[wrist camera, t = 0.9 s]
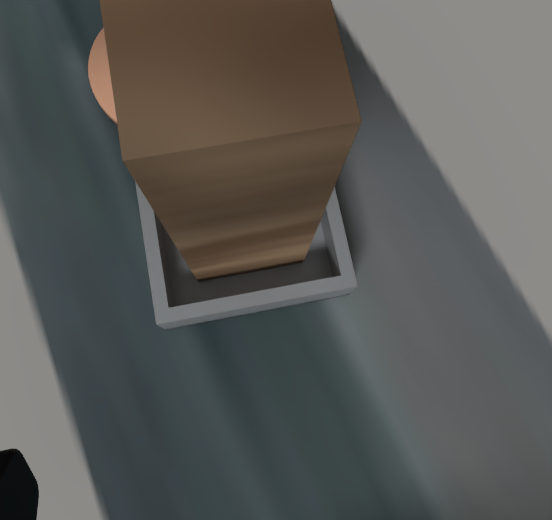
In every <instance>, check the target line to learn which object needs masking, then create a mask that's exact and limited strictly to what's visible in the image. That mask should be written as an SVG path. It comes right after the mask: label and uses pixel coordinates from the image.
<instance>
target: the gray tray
mask: <svg viewBox="0 0 552 520" xmlns="http://www.w3.org/2000/svg"><path fill="white" fill-rule="evenodd" d="M135 183H136V181H135ZM136 190H137V196H138V203H139V210H140V217H141V224H142V230H143V237H144V244H145V251H146V258H147V264H148V271H149V278H150V285H151V291H152V298H153V305H154V312H155V319H156V325H158V326H160V327H162V328H164V329H172V328H177V327H182V326H187V325H192V324H198V323H203V322H208V321H213V320H219V319H224V318H229V317H234V316H239V315H245V314H250V313H255V312H260V311H266V310H271V309H276V308H281V307H287V306H292V305H297V304H302V303H307V302H313V301H318V300H323V299H328V298H334V297H339V296H344V295H348V294H350V293H351V292H352V291H353V290H354V289H355V288H356V287H358V285H357V281H356V277H355V272H354V268H353V264H352V259H351V255H350V251H349V246H348V242H347V238H346V233H345V229H344V225H343V221H342V216H341V212H340V208H339V203H338V199H337V195H336V190H335V187H334V189H333V191H332V194H331V196H330V199H329V201H328V204H327V206H326V208H325V211H324V213H323V216H322V218H321V221H320V223H319V225H318V228H317V230H316V233H315V235H314V237H313V240H312V242H311V245H310V247H309V250H308V252H307V254H306V257H305V259H304V262H303V263H299V264H293V265H288V266H282V267H277V268H272V269H266V270H261V271H255V272H250V273H245V274H239V275H234V276H228V277H223V278H217V279H212V280H207V281H201V282H198V281H197V279H196V278H195V276H194V274H193V273H192V271H191V270H190V268H189V266H188V265H187V263H186V262H185V260H184V258H183V257H182V255H181V253H180V252H179V250H178V249H177V247H176V245H175V244H174V242H173V241H172V239H171V237H170V236H169V234H168V233H167V231H166V229H165V228H164V226H163V225H162V223H161V221H160V220H159V218H158V217H157V215H156V213H155V212H154V210H153V209H152V207H151V205H150V204H149V202H148V201H147V199H146V197H145V196H144V194H143V193H142V191H141V189H140V188H139V186H138V185H137V183H136Z"/></svg>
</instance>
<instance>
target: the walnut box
mask: <svg viewBox="0 0 552 520" xmlns="http://www.w3.org/2000/svg"><path fill="white" fill-rule="evenodd" d="M100 6H101V13H102V20H103V27H104V34H105V41H106V48H107V55H108V62H109V69H110V76H111V83H112V90H113V97H114V104H115V111H116V118H117V125H118V132H119V139H120V146H121V153H122V160H123V162H124V164H125V165H126V167H127V169H128V170H129V172H130V173H131V175H132V177H133V178H134V180H135V181H136V183H137V185H138V186H139V188H140V189H141V191H142V193H143V194H144V196H145V197H146V199H147V201H148V202H149V204H150V205H151V207H152V209H153V210H154V212H155V213H156V215H157V217H158V218H159V220H160V221H161V223H162V225H163V226H164V228H165V229H166V231H167V233H168V234H169V236H170V237H171V239H172V241H173V242H174V244H175V245H176V247H177V249H178V250H179V252H180V253H181V255H182V257H183V258H184V260H185V262H186V263H187V265H188V266H189V268H190V270H191V271H192V273H193V274H194V276H195V278H196V279H197V281H198V282H201V281H207V280H212V279H217V278H223V277H228V276H234V275H239V274H245V273H250V272H255V271H261V270H266V269H272V268H277V267H282V266H288V265H293V264H299V263H303V262H304V259H305V257H306V254H307V252H308V250H309V247H310V245H311V242H312V240H313V237H314V235H315V233H316V230H317V228H318V225H319V223H320V221H321V218H322V216H323V213H324V211H325V208H326V206H327V204H328V201H329V199H330V196H331V194H332V191H333V189H334V187H335V184H336V182H337V179H338V177H339V175H340V172H341V170H342V167H343V165H344V162H345V160H346V158H347V155H348V153H349V150H350V148H351V145H352V143H353V141H354V138H355V136H356V133H357V131H358V129H359V126H360V124H361V118H360V114H359V110H358V106H357V102H356V98H355V94H354V90H353V86H352V82H351V78H350V74H349V70H348V66H347V62H346V58H345V54H344V50H343V46H342V42H341V38H340V34H339V30H338V26H337V22H336V18H335V14H334V10H333V6H332V2H331V0H100Z"/></svg>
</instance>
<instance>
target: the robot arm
mask: <svg viewBox="0 0 552 520" xmlns="http://www.w3.org/2000/svg"><path fill="white" fill-rule="evenodd" d="M38 498H39V491H38V484H37V481H36V479H35V477H34V475H33V473H32V471H31V470H30V468H29V466H28V464H27V462H26V460H25V459H24V457H23V455H22V454H21V452H20V451H19V450H17V449H8V450H3V451H0V520H36V517H37V507H38Z"/></svg>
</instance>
